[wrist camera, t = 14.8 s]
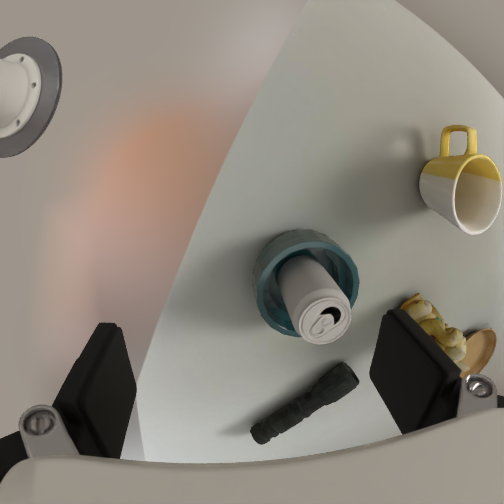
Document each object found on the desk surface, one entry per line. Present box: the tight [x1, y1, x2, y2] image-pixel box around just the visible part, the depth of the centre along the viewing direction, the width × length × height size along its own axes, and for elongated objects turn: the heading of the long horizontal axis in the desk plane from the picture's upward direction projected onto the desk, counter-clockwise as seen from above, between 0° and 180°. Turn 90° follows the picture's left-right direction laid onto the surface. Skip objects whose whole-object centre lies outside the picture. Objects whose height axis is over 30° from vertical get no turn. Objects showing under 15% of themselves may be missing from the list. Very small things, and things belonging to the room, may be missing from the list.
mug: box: [419, 125, 502, 235], centre depth 35 cm, size 14×10×10 cm
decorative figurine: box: [398, 293, 470, 372], centre depth 40 cm, size 10×8×15 cm
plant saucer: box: [460, 329, 497, 379], centre depth 52 cm, size 15×15×3 cm
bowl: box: [253, 230, 359, 337], centre depth 40 cm, size 13×13×6 cm
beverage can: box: [277, 255, 351, 345], centre depth 36 cm, size 6×6×12 cm
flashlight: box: [250, 362, 359, 445], centre depth 49 cm, size 5×21×5 cm, turn 132°
